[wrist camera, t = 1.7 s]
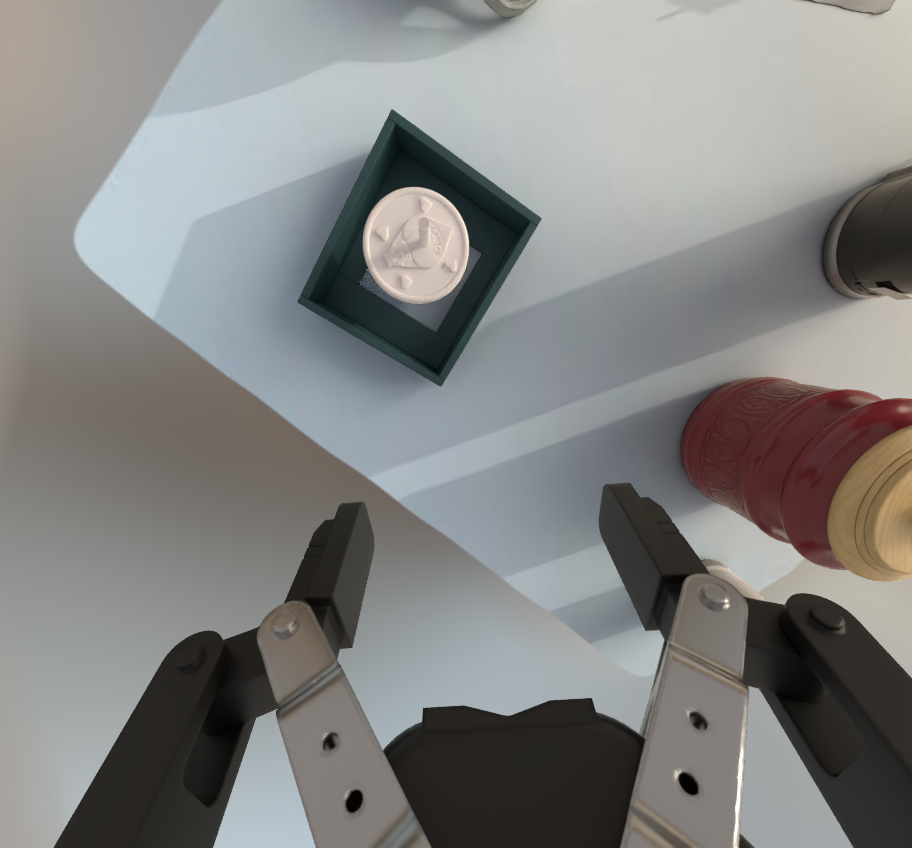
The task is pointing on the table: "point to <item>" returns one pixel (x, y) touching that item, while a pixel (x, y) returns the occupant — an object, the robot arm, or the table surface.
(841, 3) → the miniature house
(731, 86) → the table surface
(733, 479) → the kitchen canister
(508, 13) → the ceramic mug
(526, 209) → the bin
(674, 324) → the table surface
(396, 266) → the smoothie
